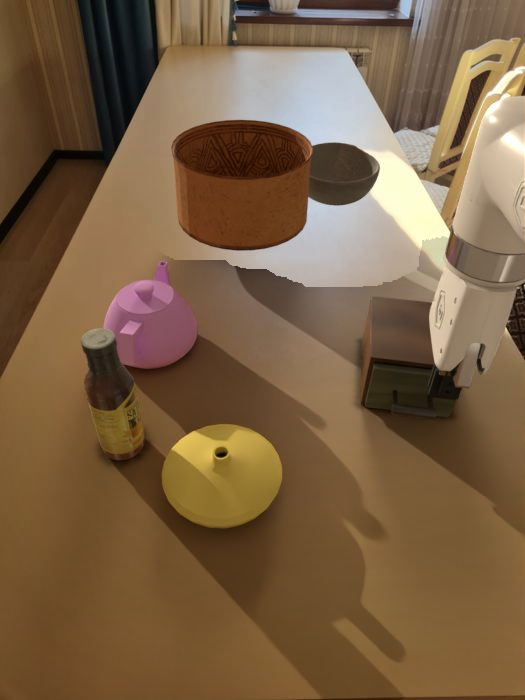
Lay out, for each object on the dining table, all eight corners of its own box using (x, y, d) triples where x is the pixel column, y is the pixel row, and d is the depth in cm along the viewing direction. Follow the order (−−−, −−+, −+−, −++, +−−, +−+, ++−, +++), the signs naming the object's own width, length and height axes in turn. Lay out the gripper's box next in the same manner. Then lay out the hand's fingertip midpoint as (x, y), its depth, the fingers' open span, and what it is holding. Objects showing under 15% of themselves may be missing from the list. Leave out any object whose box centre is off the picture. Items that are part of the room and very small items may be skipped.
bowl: (275, 203, 131) (276, 163, 124) (318, 173, 143) (321, 135, 136) (349, 228, 122) (355, 187, 116) (387, 195, 135) (395, 155, 128)
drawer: (451, 440, 78) (467, 401, 72) (364, 429, 79) (373, 390, 73) (440, 356, 91) (453, 318, 85) (366, 347, 92) (373, 309, 86)
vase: (271, 548, 66) (273, 518, 61) (147, 526, 68) (139, 496, 63) (289, 446, 77) (291, 414, 73) (182, 429, 79) (178, 397, 74)
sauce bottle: (146, 460, 75) (124, 356, 62) (100, 465, 74) (68, 362, 61) (146, 423, 80) (125, 320, 66) (102, 428, 79) (73, 325, 66)
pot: (263, 286, 106) (265, 191, 92) (153, 244, 116) (141, 153, 102) (326, 226, 123) (336, 138, 109) (226, 194, 133) (224, 110, 120)
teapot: (181, 394, 84) (174, 336, 76) (85, 383, 86) (68, 325, 77) (210, 307, 100) (207, 252, 92) (129, 299, 102) (119, 244, 93)
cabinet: (450, 415, 82) (468, 368, 75) (360, 404, 84) (370, 357, 77) (441, 351, 93) (457, 305, 86) (362, 342, 94) (371, 295, 87)
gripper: (439, 208, 54) (405, 346, 66) (457, 295, 43) (411, 441, 55) (518, 214, 53) (468, 353, 65) (555, 305, 42) (487, 451, 54)
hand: (442, 393), depth 60 cm, fingers closed
